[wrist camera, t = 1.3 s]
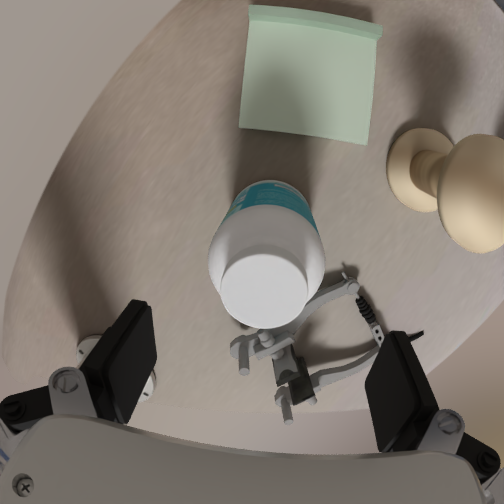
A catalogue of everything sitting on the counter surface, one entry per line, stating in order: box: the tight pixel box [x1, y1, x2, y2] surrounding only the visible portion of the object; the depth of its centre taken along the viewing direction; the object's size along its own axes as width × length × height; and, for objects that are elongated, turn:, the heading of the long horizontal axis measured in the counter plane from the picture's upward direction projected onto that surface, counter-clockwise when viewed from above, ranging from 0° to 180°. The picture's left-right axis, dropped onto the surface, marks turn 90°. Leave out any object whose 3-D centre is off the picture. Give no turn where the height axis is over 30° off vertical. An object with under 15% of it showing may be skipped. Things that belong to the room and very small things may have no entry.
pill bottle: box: [208, 180, 325, 329], centre depth 22 cm, size 8×7×14 cm
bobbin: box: [386, 128, 504, 253], centre depth 20 cm, size 8×8×11 cm
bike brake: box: [230, 272, 424, 425], centre depth 30 cm, size 14×7×20 cm
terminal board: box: [238, 5, 383, 146], centre depth 22 cm, size 11×11×3 cm
